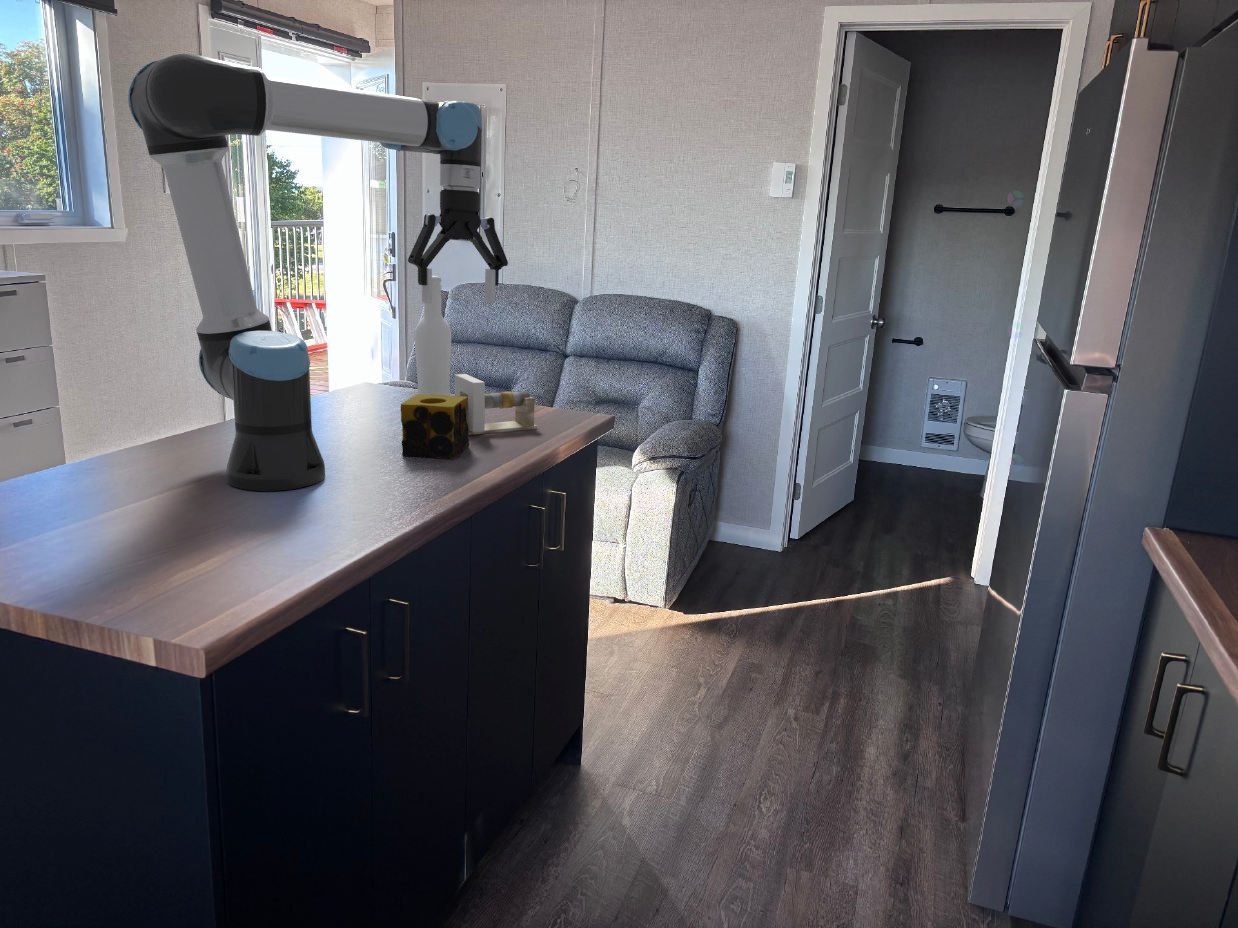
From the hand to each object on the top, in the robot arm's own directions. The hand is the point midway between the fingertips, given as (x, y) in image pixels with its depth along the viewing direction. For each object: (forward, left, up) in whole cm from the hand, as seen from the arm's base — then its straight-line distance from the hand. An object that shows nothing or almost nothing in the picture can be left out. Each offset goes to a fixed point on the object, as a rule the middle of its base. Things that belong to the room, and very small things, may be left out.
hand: (459, 303), depth 179 cm
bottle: (+2, +20, -27) cm, 33 cm away
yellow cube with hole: (-9, -11, -27) cm, 30 cm away
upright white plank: (+3, +2, -26) cm, 26 cm away
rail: (+7, +2, -26) cm, 27 cm away
